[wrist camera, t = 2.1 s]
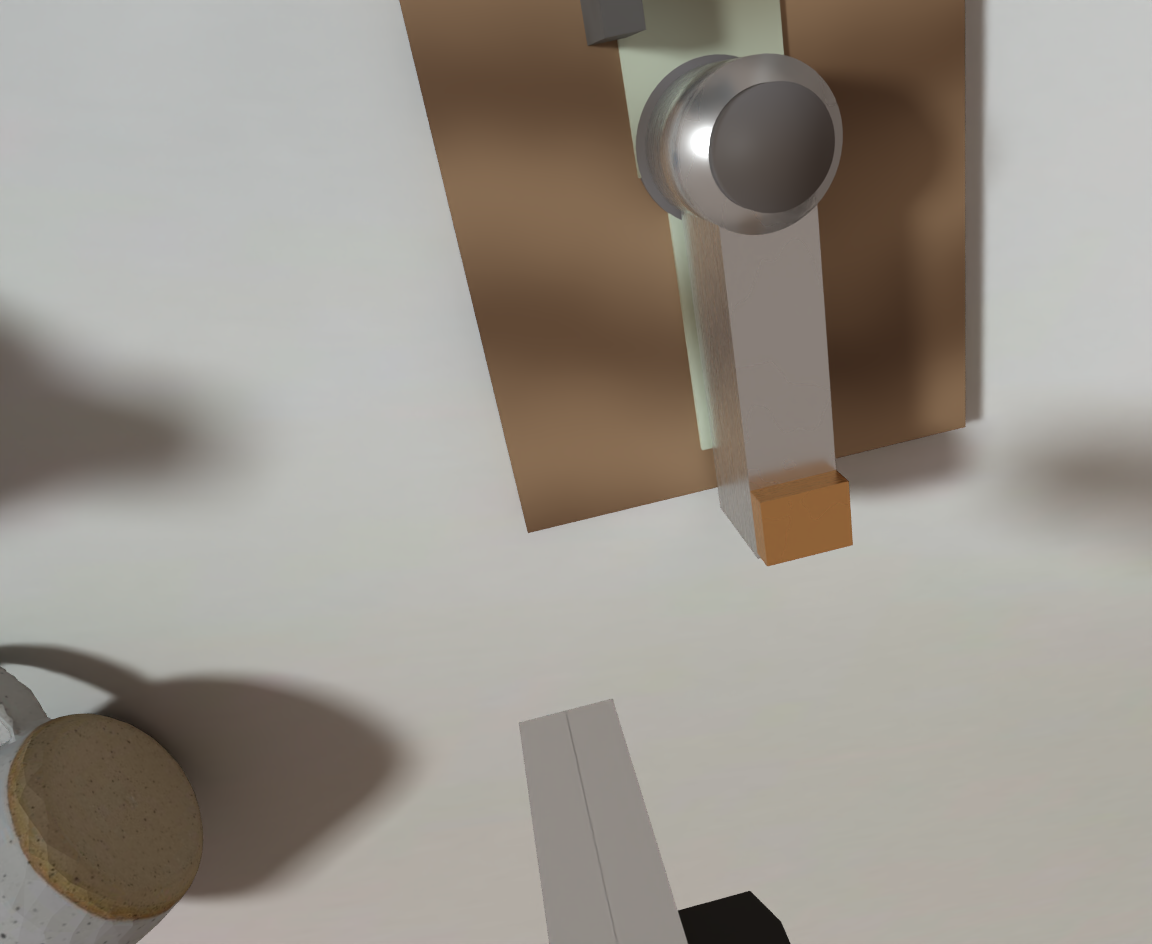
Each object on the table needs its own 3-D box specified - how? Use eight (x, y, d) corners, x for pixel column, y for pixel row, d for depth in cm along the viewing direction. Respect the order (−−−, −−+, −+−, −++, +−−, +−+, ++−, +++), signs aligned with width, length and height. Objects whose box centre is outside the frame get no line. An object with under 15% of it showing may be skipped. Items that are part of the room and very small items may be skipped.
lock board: (294, -436, 19) (238, -658, 13) (939, -541, 20) (1130, -788, 14) (524, 519, 28) (546, 614, 23) (948, 417, 29) (1064, 484, 24)
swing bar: (634, 78, 22) (677, 70, 18) (780, 48, 23) (853, 34, 19) (698, 513, 28) (741, 578, 24) (815, 484, 28) (878, 544, 24)
